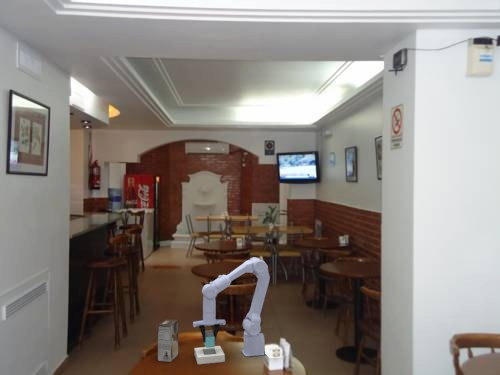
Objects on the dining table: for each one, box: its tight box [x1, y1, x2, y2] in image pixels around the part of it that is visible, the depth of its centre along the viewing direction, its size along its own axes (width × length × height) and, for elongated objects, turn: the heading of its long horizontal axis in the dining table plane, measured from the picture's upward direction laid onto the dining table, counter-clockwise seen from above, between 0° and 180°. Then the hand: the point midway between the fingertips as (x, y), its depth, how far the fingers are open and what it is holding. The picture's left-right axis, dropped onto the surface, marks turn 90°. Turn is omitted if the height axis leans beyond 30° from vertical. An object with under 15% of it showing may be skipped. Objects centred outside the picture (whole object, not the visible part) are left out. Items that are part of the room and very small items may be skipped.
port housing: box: [193, 345, 226, 365], centre depth 197 cm, size 12×12×3 cm
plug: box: [203, 329, 216, 348], centre depth 197 cm, size 4×6×6 cm, turn 14°
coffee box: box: [157, 319, 179, 363], centre depth 197 cm, size 9×6×16 cm
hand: (209, 341), depth 197 cm, fingers closed on plug, 4 cm apart
